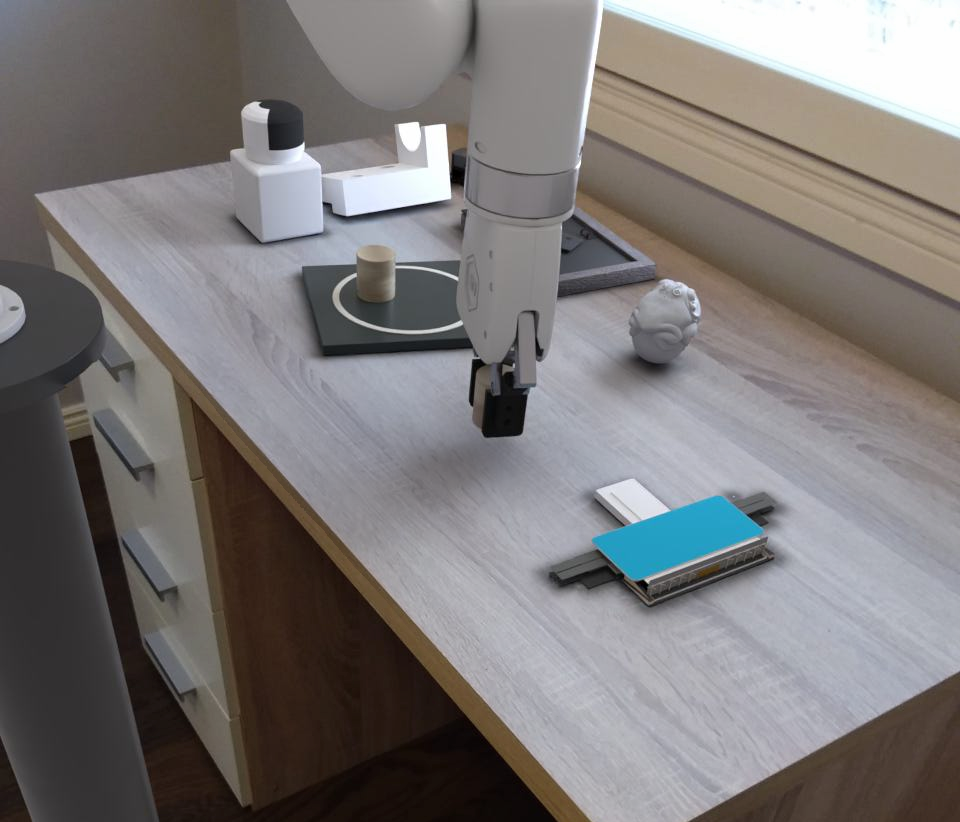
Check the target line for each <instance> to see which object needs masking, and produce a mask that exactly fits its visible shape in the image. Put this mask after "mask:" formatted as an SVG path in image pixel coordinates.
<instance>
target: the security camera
mask: <svg viewBox="0 0 960 822" xmlns="http://www.w3.org/2000/svg"><path fill="white" fill-rule="evenodd" d="M240 118H241V128H242V140H243V147H242V148H235V149H231V150H230V151H229V158H230V168H231V177H232V188H233V189H232V190H233V200H234V210H235V216H236V219H237V220H238V221H239V222H240V223H241V224H242V225H243V226H244V227H245V228H246V229H247V230H248V231H249V232H250V233H251V234H252V235H253V236H254V237H255V238H256V239H257V240H258V241H259V242H260V243H261V244H265V243H271V242H276V241H282V240H289V239H294V238H299V237H306V236H312V235H317V234H322V233H323V232H324V211H323V202H322V181H321V175H322V166H321V164H320V163H319V162H318V161H317V160H315V159H314V158H313V157H312V156H310V155H309V154H308V153H307V152H306V151H305V149H306V147H305V131H304V113H303V110H301V108H299V106H298V105H295V104H293V103H291V102H289V101H285V100H281V99H273V98H272V99H270V98H269V99H259V100H256V101H252V102H251V103H248V104H246V105H244V107H243V108H242V110H241V112H240Z"/></svg>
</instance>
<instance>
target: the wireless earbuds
mask: <svg viewBox="0 0 960 822" xmlns="http://www.w3.org/2000/svg"><path fill="white" fill-rule="evenodd" d="M466 157H467V147H459V148H457V149H455V150H453V151H451V163H450V171H449V174H450V184H452V183H454V182H455V183H458V184H462V185H464V184H465V170H466Z"/></svg>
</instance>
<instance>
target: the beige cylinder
mask: <svg viewBox="0 0 960 822" xmlns="http://www.w3.org/2000/svg"><path fill="white" fill-rule="evenodd" d="M491 366H492V364H489V365H485V366H483V367H481V368H480V369H478V371H477V373H476V382H475V392H474V403H473V407H472V415H471V420H472V423H473V424H474V426H475V427H477V428H478V429H479V430H482V420H483V410H484V400H485V390H486V389H490V384H491ZM514 368H515V367H514V366H513V367H511V366H508V365H503V369H502V376H503V375H504V373H505V372H507V371H514Z"/></svg>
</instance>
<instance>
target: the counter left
mask: <svg viewBox="0 0 960 822" xmlns="http://www.w3.org/2000/svg"><path fill="white" fill-rule="evenodd" d="M396 256H397V255H396V252H395V251H394V250H393V249H392V248H391V247H388V246H385V245H378V244H370V245H369V244H368V245H364V246H361V247H359V248H358V249H357V250H356V258H355V259H356V260H355V261H356V264H357V295H358V297H359V298H361V299H362V300H364V301H368V302H373V303H382V302H387V301H390V300H392V299H393V298H394V297H395V265H396V263H397V262H396V260H397V257H396Z"/></svg>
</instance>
